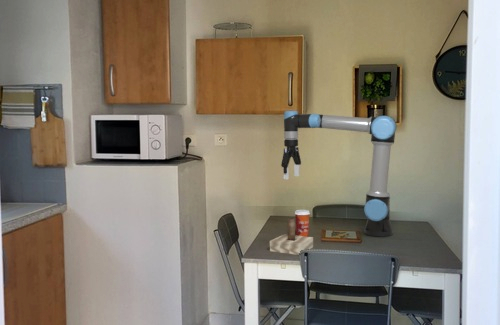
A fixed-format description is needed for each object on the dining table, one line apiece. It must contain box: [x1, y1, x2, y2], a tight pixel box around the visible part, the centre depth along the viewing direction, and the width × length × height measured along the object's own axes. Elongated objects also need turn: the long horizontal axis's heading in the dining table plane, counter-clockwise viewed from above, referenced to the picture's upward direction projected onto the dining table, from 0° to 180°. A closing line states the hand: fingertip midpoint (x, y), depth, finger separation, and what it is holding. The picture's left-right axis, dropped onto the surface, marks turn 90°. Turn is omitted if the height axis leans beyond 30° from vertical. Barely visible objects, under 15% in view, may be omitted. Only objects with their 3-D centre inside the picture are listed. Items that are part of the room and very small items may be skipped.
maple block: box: [269, 233, 314, 256], centre depth 245 cm, size 16×16×5 cm
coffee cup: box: [294, 209, 311, 237], centre depth 266 cm, size 8×8×15 cm
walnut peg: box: [287, 218, 296, 241], centre depth 245 cm, size 4×4×15 cm
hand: (291, 177), depth 273 cm, fingers open, 13 cm apart
